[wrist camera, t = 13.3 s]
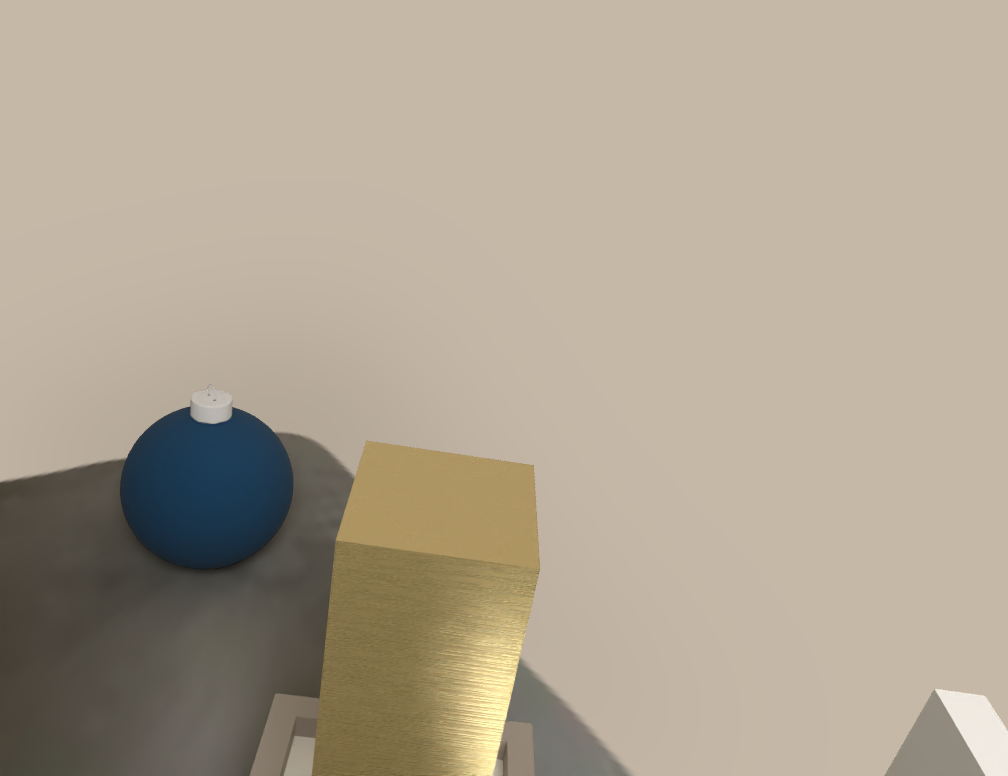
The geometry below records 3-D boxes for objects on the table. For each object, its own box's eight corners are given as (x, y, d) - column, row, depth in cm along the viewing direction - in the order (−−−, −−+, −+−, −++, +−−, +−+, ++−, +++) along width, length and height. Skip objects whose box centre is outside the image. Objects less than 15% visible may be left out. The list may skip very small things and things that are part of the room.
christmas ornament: (318, 567, 46) (333, 403, 42) (167, 626, 40) (167, 444, 36) (239, 492, 51) (246, 339, 47) (95, 536, 45) (88, 366, 41)
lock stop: (297, 910, 26) (335, 540, 20) (328, 775, 31) (366, 440, 25) (457, 927, 27) (539, 568, 21) (464, 790, 31) (533, 465, 25)
